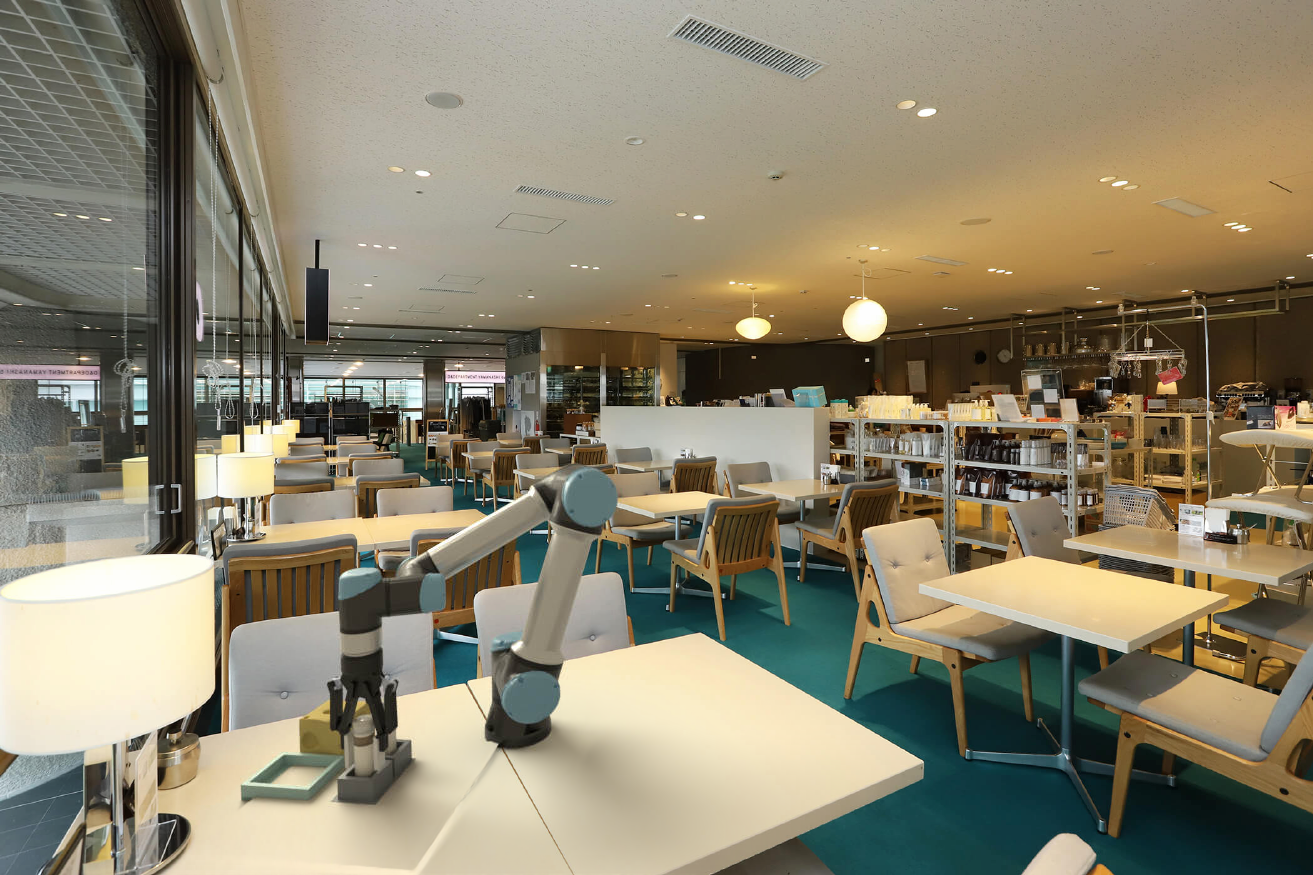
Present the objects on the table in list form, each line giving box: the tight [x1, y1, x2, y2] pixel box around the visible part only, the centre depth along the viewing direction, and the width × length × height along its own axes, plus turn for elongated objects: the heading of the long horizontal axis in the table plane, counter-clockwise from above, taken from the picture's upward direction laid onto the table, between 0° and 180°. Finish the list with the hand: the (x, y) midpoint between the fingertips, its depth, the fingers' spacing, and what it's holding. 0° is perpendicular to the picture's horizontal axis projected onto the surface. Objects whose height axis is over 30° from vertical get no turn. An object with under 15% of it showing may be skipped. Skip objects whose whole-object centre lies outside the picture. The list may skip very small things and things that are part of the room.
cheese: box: [298, 699, 371, 756], centre depth 143 cm, size 10×11×10 cm
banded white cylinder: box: [353, 715, 376, 778], centre depth 128 cm, size 4×4×14 cm
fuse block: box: [330, 696, 416, 806], centre depth 132 cm, size 9×16×15 cm, turn 173°
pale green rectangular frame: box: [240, 751, 345, 801], centre depth 132 cm, size 14×12×3 cm
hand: (365, 765), depth 128 cm, fingers open, 5 cm apart
